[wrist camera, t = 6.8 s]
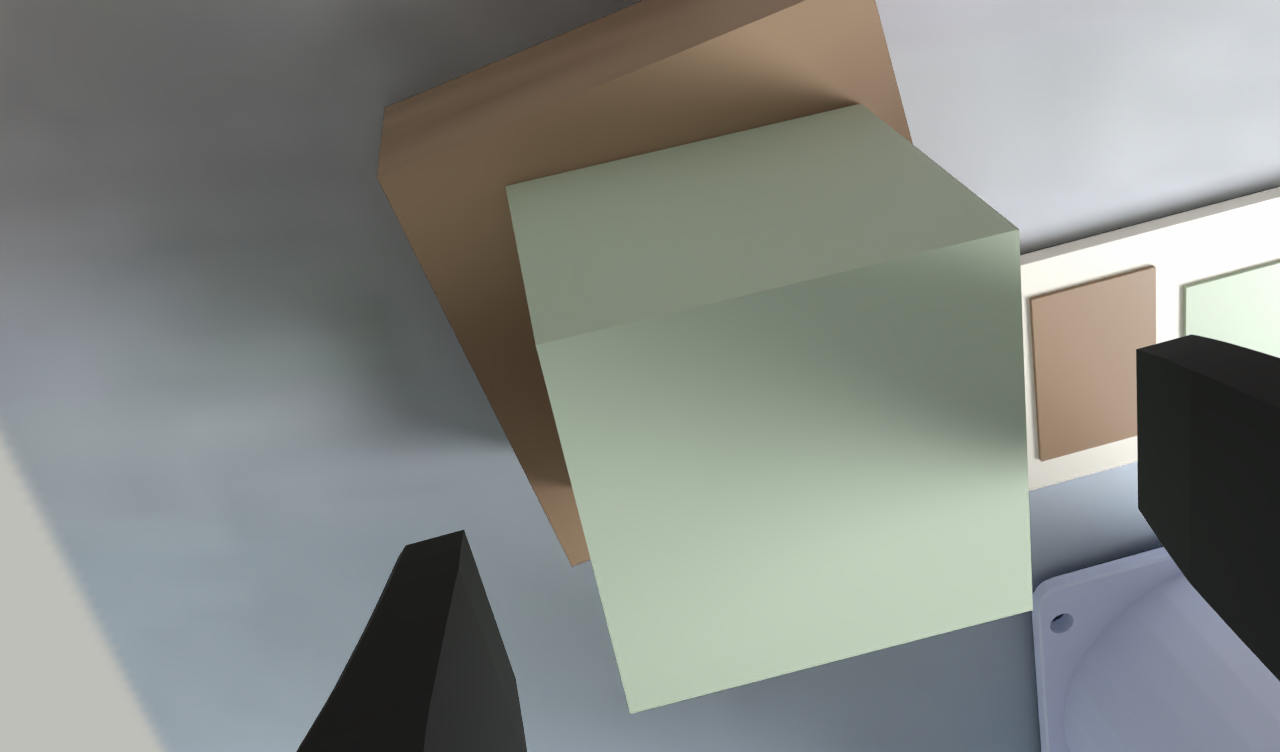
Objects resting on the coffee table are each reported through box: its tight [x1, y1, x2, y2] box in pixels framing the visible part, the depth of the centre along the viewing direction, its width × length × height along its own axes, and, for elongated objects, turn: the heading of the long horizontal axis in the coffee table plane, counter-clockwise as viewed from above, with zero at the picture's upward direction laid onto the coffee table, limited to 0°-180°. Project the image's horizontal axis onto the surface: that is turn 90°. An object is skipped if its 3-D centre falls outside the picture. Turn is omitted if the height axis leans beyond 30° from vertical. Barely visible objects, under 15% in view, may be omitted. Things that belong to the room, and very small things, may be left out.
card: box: [1020, 187, 1280, 491], centre depth 23 cm, size 5×7×1 cm
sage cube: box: [505, 104, 1033, 714], centre depth 15 cm, size 5×5×5 cm
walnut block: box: [377, 0, 913, 567], centre depth 19 cm, size 7×7×4 cm
